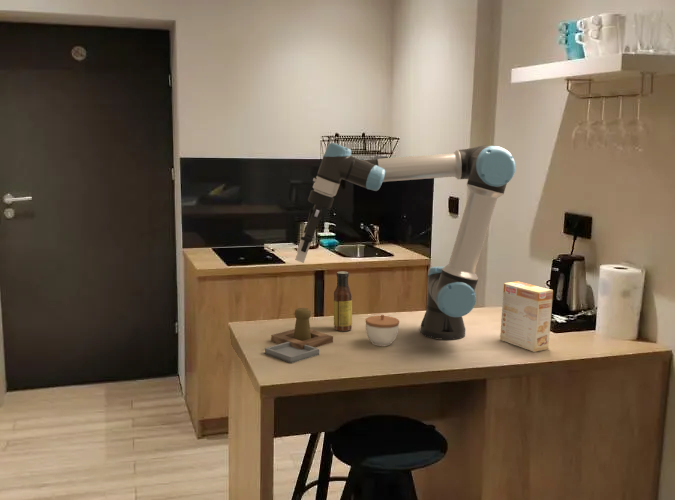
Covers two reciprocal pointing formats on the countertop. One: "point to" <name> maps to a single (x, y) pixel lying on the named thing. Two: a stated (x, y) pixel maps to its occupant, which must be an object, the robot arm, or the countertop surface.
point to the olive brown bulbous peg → (302, 324)
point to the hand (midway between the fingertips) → (299, 257)
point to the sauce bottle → (342, 303)
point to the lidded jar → (382, 329)
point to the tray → (291, 352)
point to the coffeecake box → (526, 316)
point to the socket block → (315, 340)
